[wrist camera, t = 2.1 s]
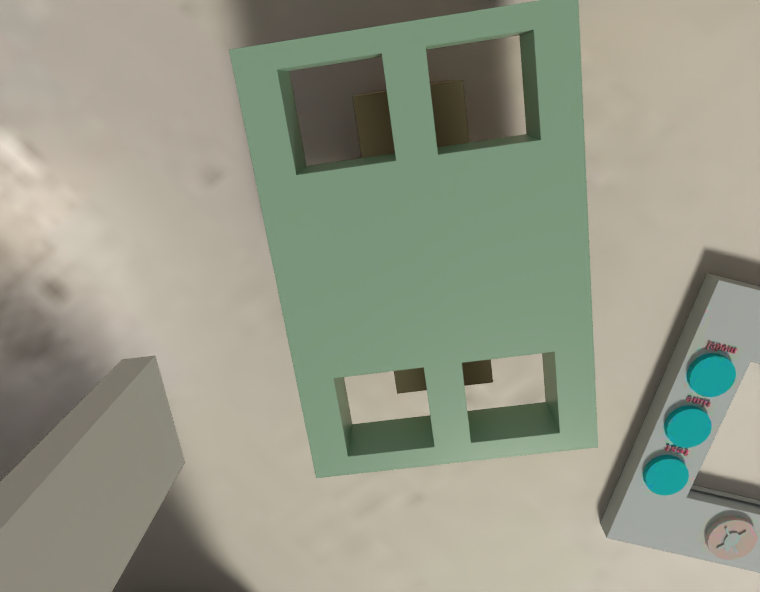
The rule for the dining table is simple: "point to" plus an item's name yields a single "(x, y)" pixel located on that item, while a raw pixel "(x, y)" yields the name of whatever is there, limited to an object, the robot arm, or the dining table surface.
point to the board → (432, 244)
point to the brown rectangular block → (380, 142)
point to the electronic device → (693, 439)
